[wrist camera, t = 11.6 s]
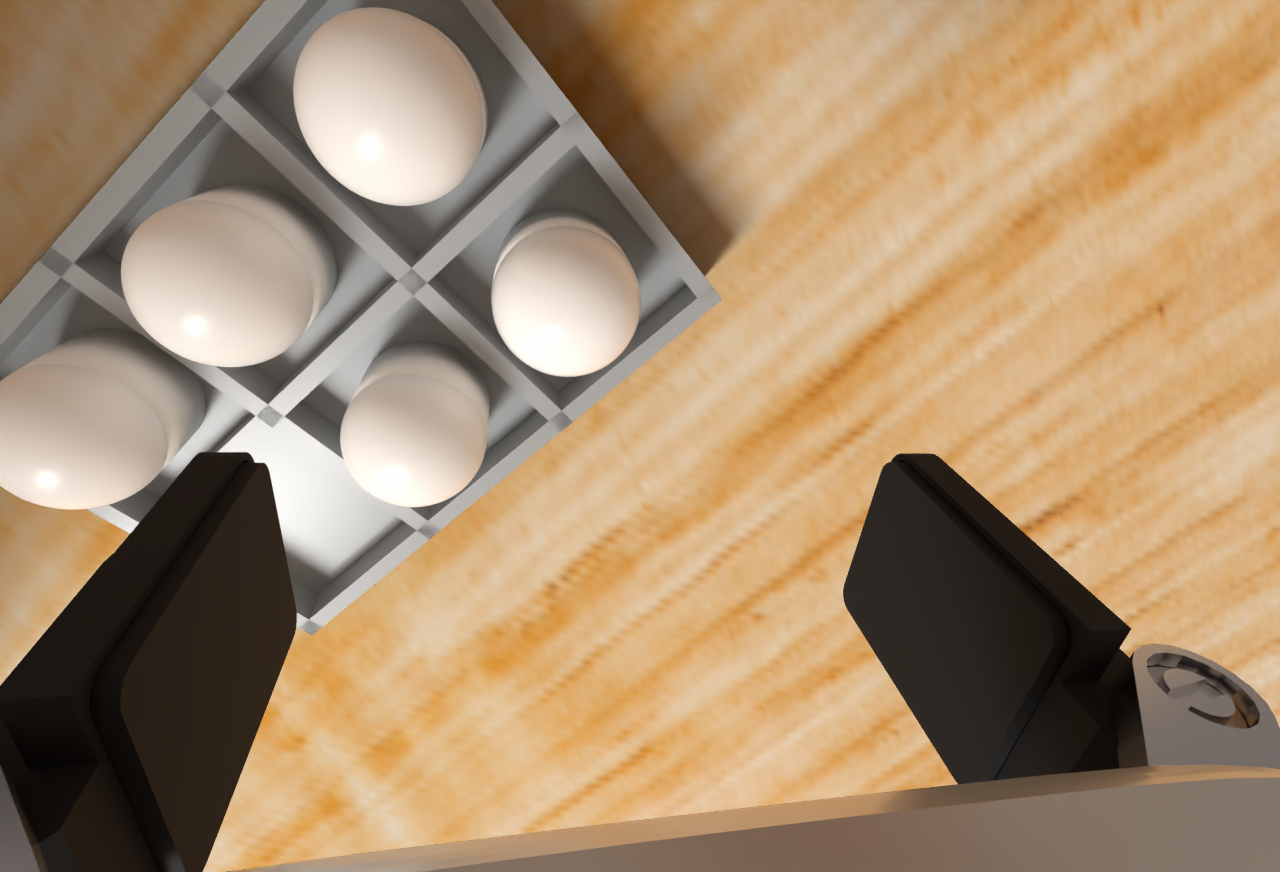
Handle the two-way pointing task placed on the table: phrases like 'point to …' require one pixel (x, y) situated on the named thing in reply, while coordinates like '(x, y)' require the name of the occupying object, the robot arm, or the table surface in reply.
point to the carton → (323, 287)
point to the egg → (564, 294)
